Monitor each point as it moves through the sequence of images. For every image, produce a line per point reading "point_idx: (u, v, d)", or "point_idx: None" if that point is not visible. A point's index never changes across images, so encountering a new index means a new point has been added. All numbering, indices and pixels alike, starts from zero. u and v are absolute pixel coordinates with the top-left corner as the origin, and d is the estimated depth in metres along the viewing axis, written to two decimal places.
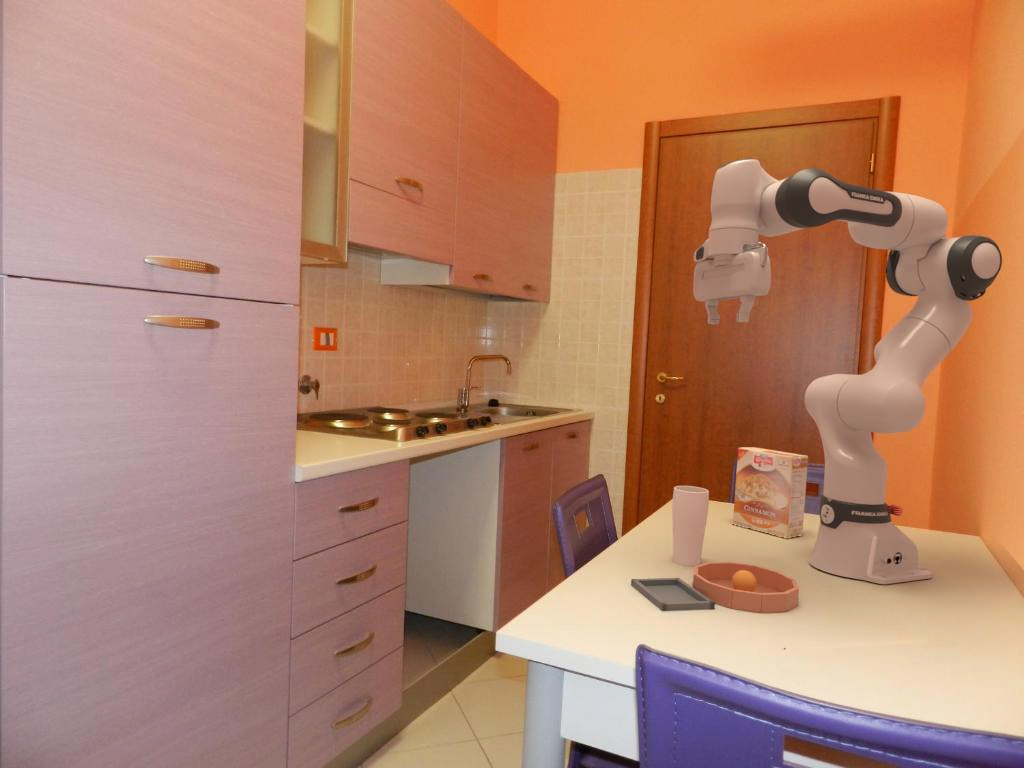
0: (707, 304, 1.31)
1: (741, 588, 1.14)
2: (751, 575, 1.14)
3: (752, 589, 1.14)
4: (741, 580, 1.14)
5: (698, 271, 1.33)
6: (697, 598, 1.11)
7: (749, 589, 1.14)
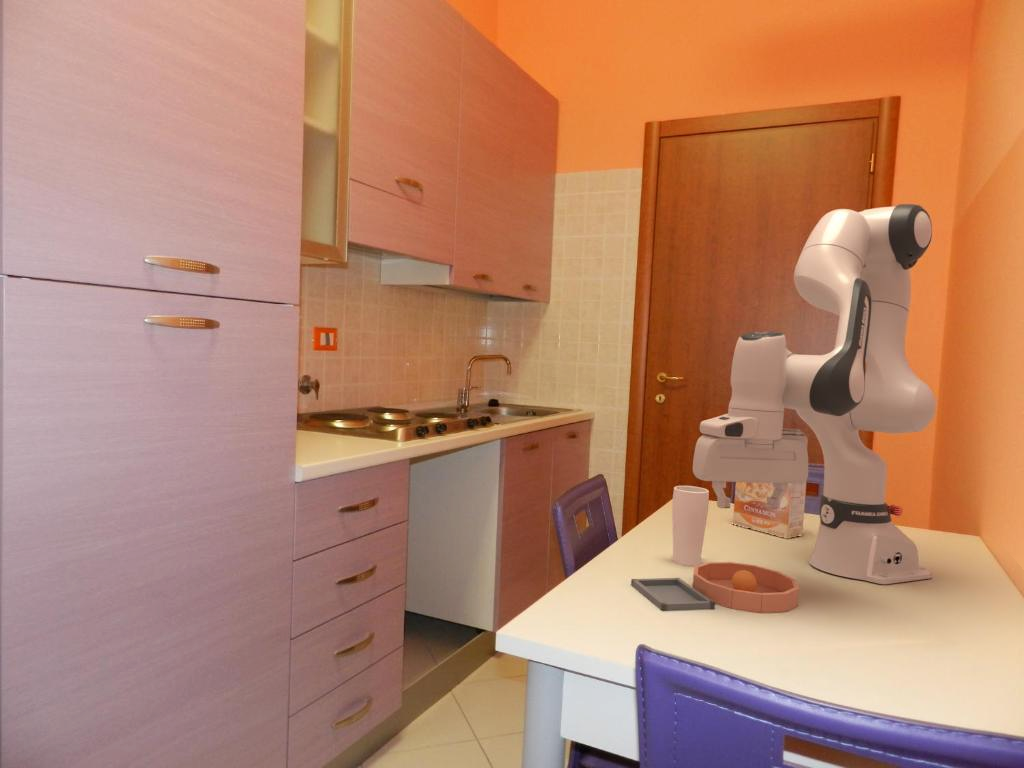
0: (723, 486, 1.12)
1: (741, 588, 1.14)
2: (751, 575, 1.14)
3: (752, 589, 1.14)
4: (741, 580, 1.14)
5: (718, 448, 1.10)
6: (697, 598, 1.11)
7: (749, 589, 1.14)
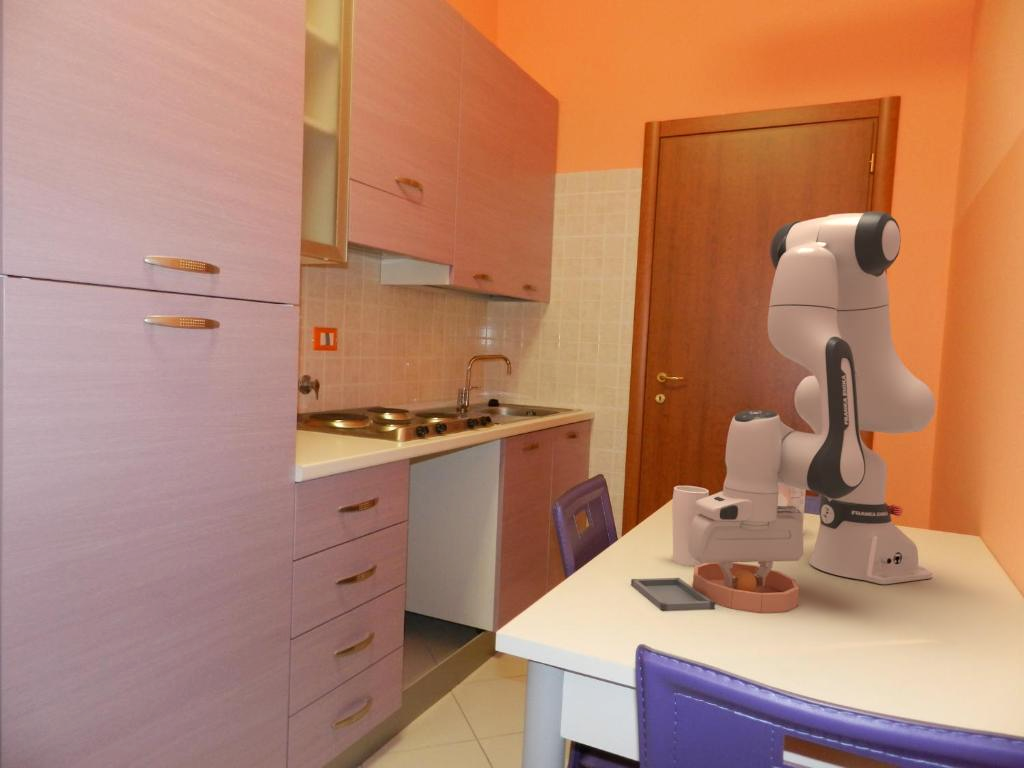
0: (729, 567, 1.13)
1: (741, 588, 1.14)
2: (751, 575, 1.14)
3: (752, 589, 1.14)
4: (741, 580, 1.14)
5: (713, 530, 1.11)
6: (697, 598, 1.11)
7: (749, 589, 1.14)
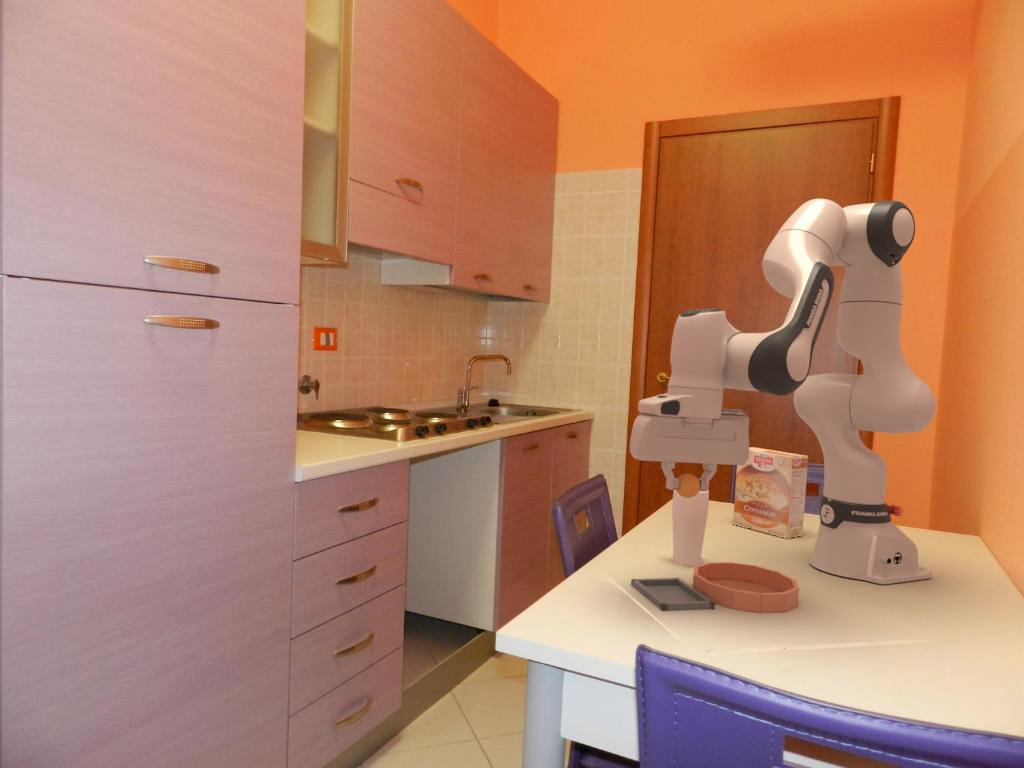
0: (671, 467, 1.10)
1: (683, 489, 1.10)
2: (694, 477, 1.11)
3: (695, 491, 1.10)
4: (684, 481, 1.10)
5: (654, 426, 1.07)
6: (697, 598, 1.11)
7: (692, 491, 1.10)
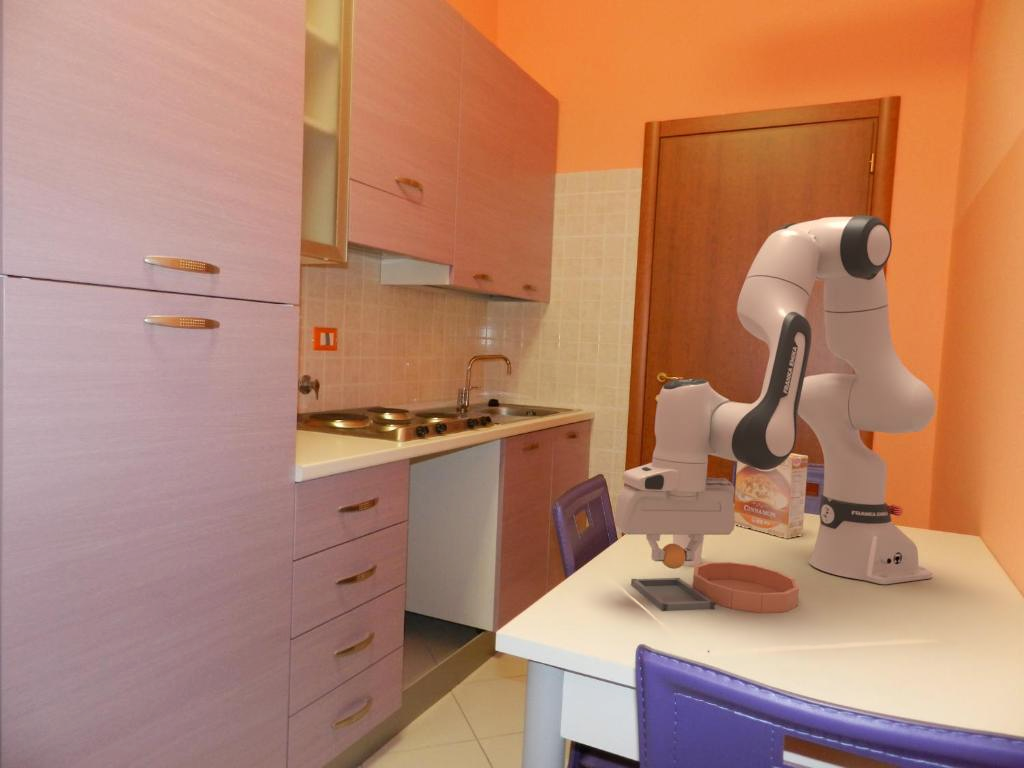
0: (656, 539, 1.10)
1: (669, 561, 1.10)
2: (680, 548, 1.11)
3: (680, 563, 1.10)
4: (669, 553, 1.10)
5: (638, 500, 1.07)
6: (697, 598, 1.11)
7: (677, 562, 1.10)
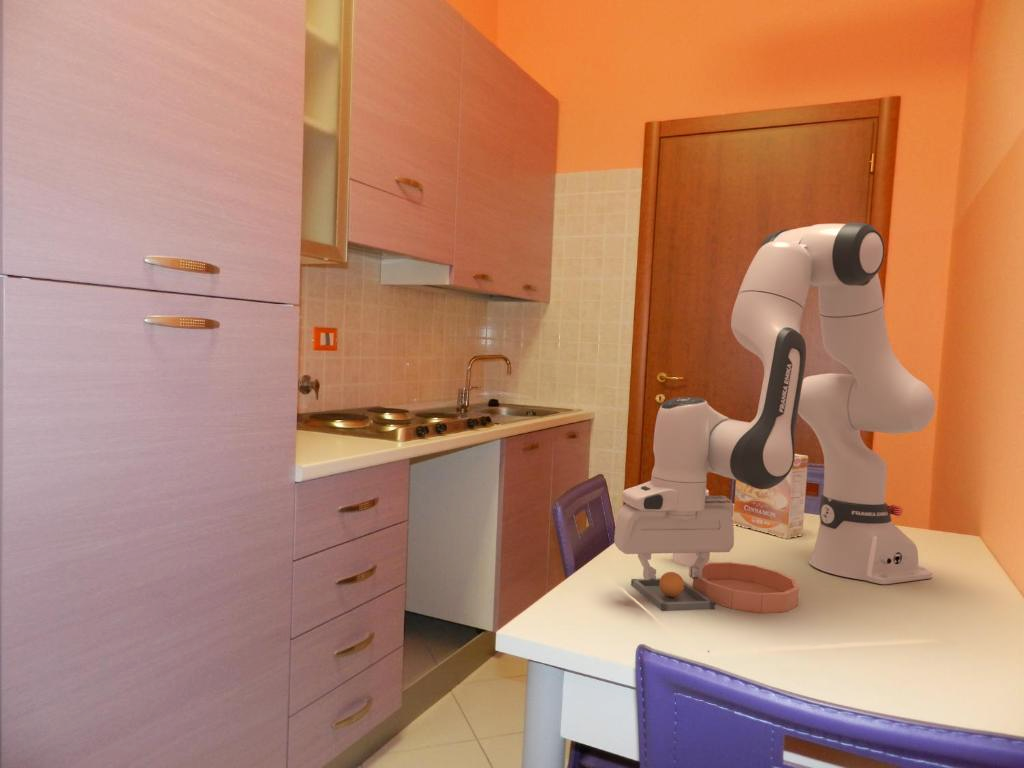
0: (648, 558, 1.10)
1: (667, 590, 1.10)
2: (678, 577, 1.11)
3: (679, 591, 1.10)
4: (667, 583, 1.11)
5: (637, 520, 1.08)
6: (697, 598, 1.11)
7: (676, 591, 1.10)
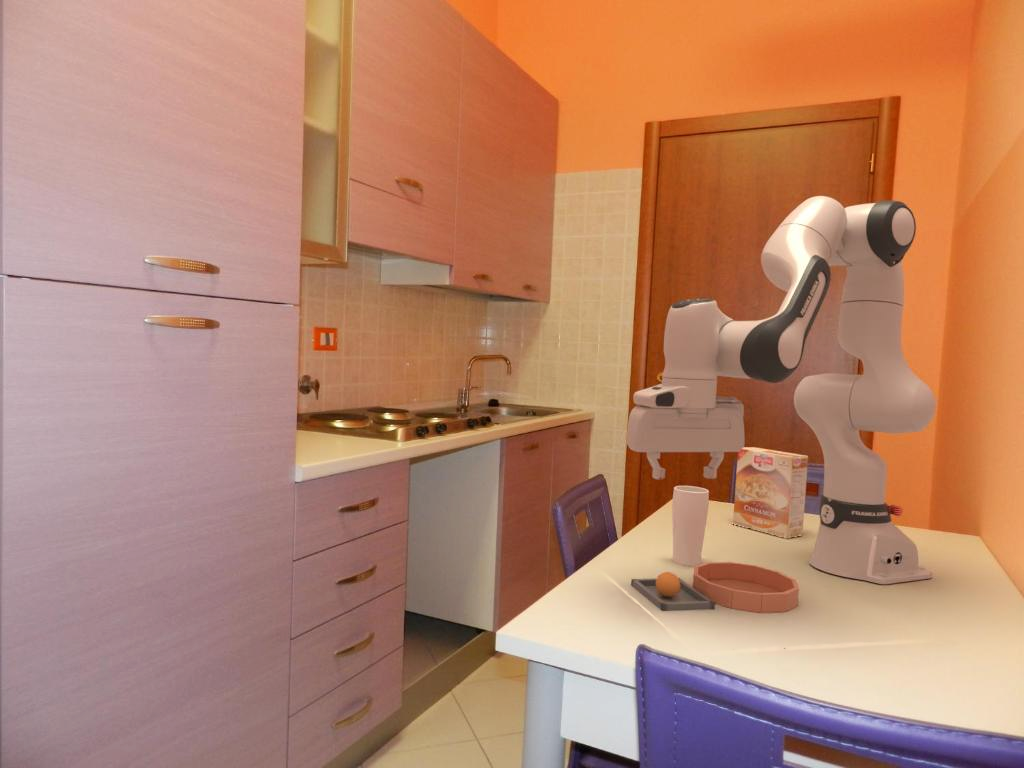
0: (657, 457, 1.11)
1: (665, 593, 1.10)
2: (671, 577, 1.11)
3: (676, 590, 1.10)
4: (662, 586, 1.10)
5: (649, 418, 1.09)
6: (697, 598, 1.11)
7: (673, 592, 1.10)
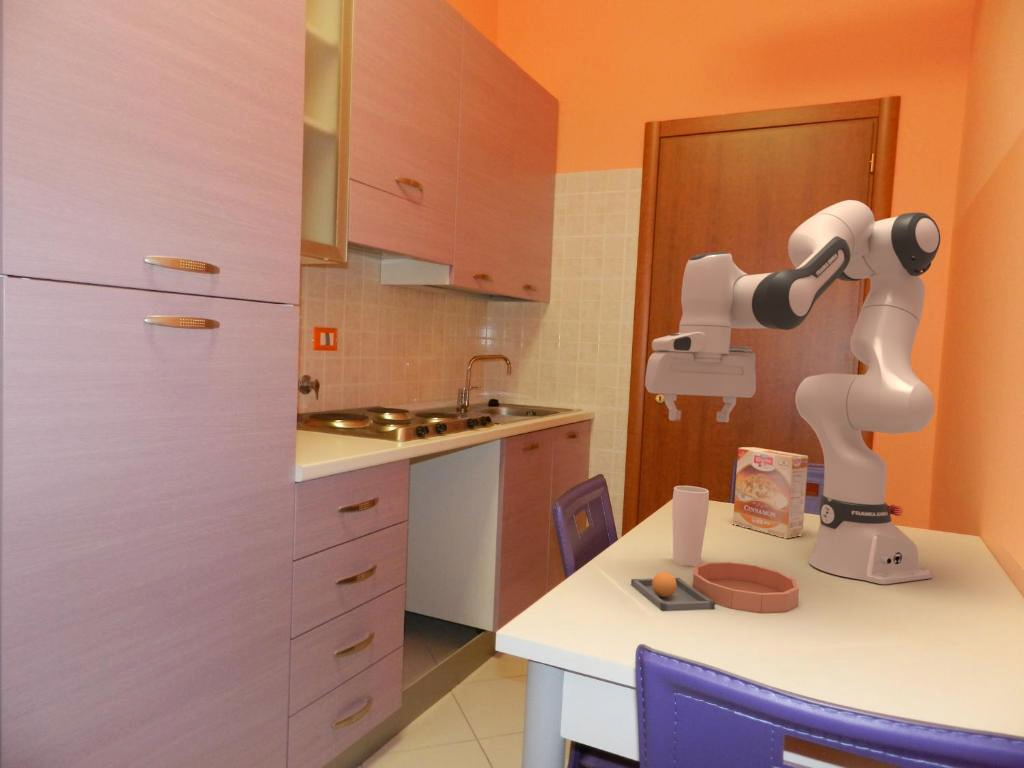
0: (673, 399, 1.18)
1: (663, 595, 1.10)
2: (664, 577, 1.10)
3: (673, 589, 1.10)
4: (658, 589, 1.10)
5: (667, 361, 1.16)
6: (697, 598, 1.11)
7: (670, 591, 1.10)
